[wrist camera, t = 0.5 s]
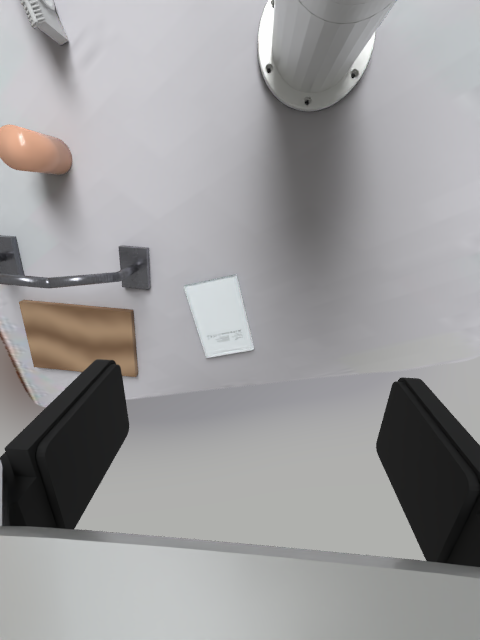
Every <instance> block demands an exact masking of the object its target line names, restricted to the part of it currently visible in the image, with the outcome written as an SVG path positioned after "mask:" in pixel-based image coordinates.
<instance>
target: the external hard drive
mask: <svg viewBox="0 0 480 640" xmlns="http://www.w3.org/2000/svg"><path fill="white" fill-rule="evenodd" d="M184 290H185V293H186V297H187V300H188V303H189V306H190V309H191V312H192V315H193V318H194V322H195V325H196V328H197V331H198V334H199V337H200V340H201V344H202V347H203V350H204V353H205V356H206V358H211V357H216V356H222V355H228V354H233V353H239V352H245V351H251V350H254V344H253V340H252V336H251V332H250V328H249V323H248V319H247V315H246V311H245V307H244V303H243V299H242V294H241V290H240V286H239V282H238V278H237V275H231V276H227V277H222V278H217V279H213V280H208V281H203V282H199V283H194V284H189V285H185V286H184Z"/></svg>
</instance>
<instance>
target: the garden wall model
mask: <svg viewBox="0 0 480 640" xmlns="http://www.w3.org/2000/svg"><path fill="white" fill-rule="evenodd" d="M20 1H21V4H22V5H23V6H24V10H26V14H28V16H27V17H28V18H29V19H30V20H29V22H31V23H32V24H31V26H32V27H33V28H34V29H35V28H39V29H40V30H41V31H43V32H44V33H45V34H47V35H48V36H49V37H50V38H52V39H53V40H54V41H56V42H57V43H58V44H60V45H62V44H64V43H66V42H68V41H69V40H68V38H67V36H66V34H65V32H64V29H63V27H62V25H61V23H60V20H59V18H58V16H57V14H56V12H55V4H54V1H53V0H20Z"/></svg>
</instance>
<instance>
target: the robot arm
mask: <svg viewBox="0 0 480 640" xmlns="http://www.w3.org/2000/svg"><path fill="white" fill-rule="evenodd" d="M396 1H397V0H268V1H267V3H266V5H265V7H264V10H263V14H262V17H261V20H260V25H259V32H258V59H259V64H260V68H261V73H262V75H263V77H264V80H265V82H266V84H267V86H268V87H269V89H270V90H271V92H272V93H273V94H274V95H275V97H276V98H277V99H278V100H279V101H281V102H282V103H284V104H285V105H287V106H288V107H291V108H293V109H296V110H300V111H318V110H321V109H324V108H327V107H330V106H331V105H333V104H335V103H337V102H338V101H340V100H341V99H342V98H343V97H344V96H346V95H347V94H348V93H349V92H350V91H351V90H352V88H353V87H354V86H355V85H356V84H357V82H358V81H359V80H360V78H361V77H362V75H363V73H364V71H365V69H366V67H367V65H368V63H369V60H370V57H371V54H372V51H373V47H374V42H375V37H376V30H377V28H378V27H379V26H380V24H381V23H382V21H383V20H384V18H385V17H386V15H387V14H388V13H389V11H390V10H391V8H392V7H393V5H394V4H395V2H396ZM273 6H274V9H273V8H272V7H273ZM268 69H270V70H271V73H267V70H268ZM352 74H353V75H354V76H355V78H354V79H353V78H351V75H352ZM305 101H308V102H309V104H308V105H305ZM128 431H129V421H128V414H127V407H126V400H125V393H124V386H123V380H122V373H121V367H120V365H118V364H116V362H115V361H114V360H103V359H96V360H95V361H94V362H93V363H92V364H91V365H90V366H88V367H87V368H86V369H85V370H84V371H83V372H82V373H81V374H80V375H79V376H78V377H77V378H76V379H75V380H74V381H73V382H72V383H71V384H70V385H69V386H68V387H67V388H66V389H65V390H64V391H63V392H62V393H61V394H60V395H59V396H58V397H57V398H56V399H55V400H54V401H53V402H52V403H50V404H49V405H48V406H47V407H46V408H45V409H44V410H43V411H42V412H41V413H40V414H39V415H38V416H37V417H36V418H35V419H34V420H33V421H32V422H31V423H30V424H29V425H28V426H27V427H26V428H25V429H24V430H23V431H22V432H21V433H20V434H19V435H18V436H17V437H16V438H15V439H14V440H13V441H12V442H10V443H9V444H8V445H7V446H6V448H5V451H6V452H5V453H4V454H3V455H2V456H1V457H0V640H480V445H479V444H478V443H477V442H476V441H475V440H474V439H473V437H471V435H470V434H469V433H468V432H467V431H466V430H465V428H464V427H463V426H462V425H461V424H460V423H459V422H458V421H457V419H456V418H455V417H454V416H453V415H452V414H451V413H450V412H449V410H448V409H447V408H446V407H445V406H444V405H443V404H442V403H441V402H440V400H439V399H438V398H437V397H436V396H435V395H434V393H433V392H432V391H431V390H430V389H429V388H428V387H427V386H426V385H425V383H424V382H423V381H422V380H421V379H416V378H400V379H399V380H398V382H394V383H393V385H392V388H391V391H390V395H389V399H388V403H387V406H386V410H385V413H384V418H383V421H382V424H381V428H380V432H379V436H378V439H377V443H376V448H377V453H378V455H379V458H380V460H381V462H382V465H383V467H384V469H385V471H386V473H387V475H388V477H389V480H390V482H391V484H392V486H393V489H394V491H395V493H396V495H397V497H398V500H399V502H400V504H401V506H402V508H403V511H404V513H405V515H406V517H407V519H408V521H409V523H410V526H411V528H412V530H413V532H414V534H415V537H416V539H417V541H418V543H419V545H420V548H421V550H422V552H423V554H424V557H425V558H426V560H427V561H420V560H411V559H400V558H390V557H380V556H369V555H359V554H349V553H338V552H328V551H318V550H307V549H295V548H285V547H274V546H263V545H252V544H241V543H230V542H219V541H208V540H197V539H186V538H174V537H162V536H149V535H138V534H126V533H114V532H103V531H91V530H75V529H74V528H75V527H76V525H77V523H78V521H79V520H80V518H81V516H82V514H83V513H84V511H85V509H86V507H87V505H88V504H89V502H90V500H91V498H92V497H93V495H94V493H95V491H96V490H97V488H98V486H99V484H100V482H101V481H102V479H103V477H104V475H105V474H106V472H107V470H108V468H109V467H110V465H111V463H112V461H113V459H114V458H115V456H116V454H117V452H118V451H119V449H120V447H121V445H122V444H123V442H124V440H125V438H126V436H127V434H128Z"/></svg>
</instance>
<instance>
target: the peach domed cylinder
mask: <svg viewBox="0 0 480 640" xmlns="http://www.w3.org/2000/svg"><path fill="white" fill-rule="evenodd" d="M0 158H1V159H2V160H3V161H4V163H6V164H7V165H8V166H9V167H11V168H13V169H16V170H22V171H31V172H39V173H48V174H57V175H62V174H65V173H66V172H68V171H69V169H70V168H71V165H72V156H71V152H70V150H69V148H68V146H67V145H66V144H65V143H64V142H63V141H62V140H60V139H58V138H55V137H52V136H49V135H45V134H42V133H38V132H35V131H31V130H28V129H25V128H21V127H18V126H14V125H5V126H2V127H1V128H0Z"/></svg>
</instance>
